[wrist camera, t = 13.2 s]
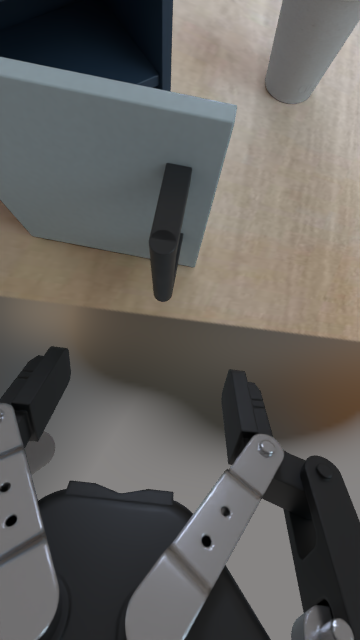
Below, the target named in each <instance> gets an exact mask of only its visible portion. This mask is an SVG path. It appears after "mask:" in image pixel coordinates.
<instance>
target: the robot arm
mask: <svg viewBox="0 0 360 640" xmlns="http://www.w3.org/2000/svg"><path fill="white" fill-rule="evenodd" d="M70 375H71V369H70V359H69V351H68V349H67V348H60V347H53V346H51V347H50V348H49V349H48V351H47V352H46V354H45V355H44V356H40V355H38V356H36V357H35V358H34V359H32V360H30V361H29V362H28V363H27V365H26V366H25V367H24V369H23V370H22V371H21V373H20V374H19V375H18V377H17V378H16V379H15V380H14V382H13V383H12V384H11V386H10V387H9V388H8V389H7V391H6V392H5V393H4V395H3V396H2V397H1V399H0V640H271V639H270V638H269V636H268V635H267V633H266V631H265V630H264V628H263V626H262V625H261V623H260V621H259V620H258V618H257V616H256V615H255V613H254V611H253V610H252V608H251V606H250V605H249V603H248V602H247V600H246V598H245V597H244V595H243V593H242V592H241V590H240V589H239V587H238V585H237V583H236V582H235V580H234V578H233V577H232V575H231V573H230V572H229V570H228V569H227V567H226V565H225V564H226V563H227V561H228V559H229V557H230V555H231V553H232V552H233V550H234V548H235V546H236V544H237V542H238V541H239V539H240V537H241V535H242V534H243V532H244V530H245V528H246V526H247V524H248V523H249V521H250V519H251V517H252V515H253V514H254V512H255V510H256V508H257V506H258V504H259V503H260V501H261V499H262V498H263V499H264V500H266V501H269V502H271V503H273V504H275V505H277V506H279V507H281V508H283V509H284V514H285V519H286V524H287V529H288V534H289V540H290V544H291V550H292V555H293V560H294V565H295V571H296V576H297V581H298V586H299V591H300V596H301V601H302V606H303V612H304V614H302V615H301V616H300V617H299V618H298V619H296V621H295V622H294V625H293V627H292V634H291V638H292V639H291V640H360V522H359V519H358V517H357V514H356V511H355V509H354V506H353V504H352V501H351V499H350V496H349V494H348V491H347V488H346V486H345V483H344V481H343V478H342V476H341V473H340V472H339V470H338V469H337V468H336V466H335V465H333V463H331V462H330V461H328V460H327V459H325V458H323V457H320V456H310V457H309V458H307V460H303V459H301V458H298V457H296V456H294V455H291V454H289V453H287V452H286V451H284V450H283V448H282V446H281V445H280V443H279V442H278V441H277V440H276V439H274V438H273V435H272V431H271V428H270V424H269V420H268V417H267V413H266V410H265V406H264V403H263V399H262V395H261V391H260V390H259V389H258V387H257V386H256V385H255V383H252V382H247V377H246V373H245V371H239V370H231V369H230V370H229V371H228V374H227V378H226V381H225V384H224V388H223V392H222V410H223V420H224V429H225V438H226V447H227V456H228V464H231V465H232V466H231V467H230V469H229V470H228V469H227V470H226V471H225V472H224V473H223V474H222V475H221V477H220V478H219V480H218V481H217V482H216V484H215V485H214V486H213V488H212V489H211V491H210V492H209V493H208V495H207V496H206V498H205V499H204V500H203V502H202V503H201V504H200V506H199V507H198V509H197V510H196V511H195V513H194V514H193V513H192V512H191V511H190V510H188V509H187V508H186V507H185V506H183V505H182V504H180V503H178V502H176V501H174V500H173V492H169V491H160V490H151V489H146V490H140V491H134V492H128V493H117V492H115V491H113V490H110V489H108V488H105V487H103V486H100V485H98V484H96V483H87V482H78V481H69V484H68V487H67V489H64V490H60V491H57V492H54V493H52V494H49V495H47V496H45V497H44V498H42V499H40V500H39V501H38V499H37V495H36V491H35V488H34V484H33V480H32V476H31V472H30V468H29V464H28V460H27V456H26V453H25V449H24V448H25V447H26V445H27V443H28V441H37V442H38V441H39V439H40V437H41V435H42V433H43V431H44V429H45V427H46V425H47V423H48V421H49V419H50V418H51V416H52V414H53V412H54V410H55V408H56V406H57V404H58V402H59V400H60V399H61V397H62V395H63V393H64V391H65V389H66V387H67V385H68V383H69V380H70Z"/></svg>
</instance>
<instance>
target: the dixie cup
mask: <svg viewBox="0 0 360 640" xmlns="http://www.w3.org/2000/svg"><path fill="white" fill-rule="evenodd" d="M359 20H360V0H283V1H282V6H281V10H280V15H279V19H278V24H277V28H276V33H275V37H274V42H273V46H272V51H271V55H270V60H269V64H268V69H267V73H266V78H265V85H266V88H267V90H268V92H269V93H270V94H271V95H272V96H273V97H274V98H276V99H277V100H279V101H281V102H284V103H289V104H296V103H301V102H303V101H305V100H306V99H308V98H309V96H310V95H311V93H312V92H313V90H314V89H315V87H316V86H317V84H318V83H319V81H320V80H321V78H322V77H323V75H324V74H325V72H326V71H327V69H328V67H329V66H330V64H331V63H332V61H333V60H334V58H335V57H336V55H337V54H338V52H339V51H340V49H341V48H342V46H343V45H344V43H345V41H346V40H347V38H348V37H349V35H350V34H351V32H352V31H353V29H354V28H355V26H356V25H357V23H358V22H359Z"/></svg>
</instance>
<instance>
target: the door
mask: <svg viewBox="0 0 360 640" xmlns="http://www.w3.org/2000/svg"><path fill="white" fill-rule="evenodd" d="M236 110H237V106H236V105H234V104H229V103H224V102H219V101H214V100H209V99H204V98H199V97H194V96H190V95H185V94H180V93H175V92H170V91H165V90H160V89H155V88H150V87H146V86H141V85H136V84H131V83H126V82H121V81H116V80H111V79H106V78H102V77H97V76H92V75H87V74H82V73H77V72H72V71H67V70H62V69H57V68H53V67H48V66H43V65H38V64H33V63H28V62H23V61H18V60H13V59H9V58H4V57H0V200H1V201H2V202H3V203H4V205H5V206H6V207H7V208H8V209H9V210H10V211H11V212H12V214H13V215H14V216H15V217H16V218H17V219H18V220H19V222H20V223H21V224H22V225H23V226H24V227H25V228H26V229H27V231H28V232H29V233H30V234H31V235H32V236H35V237H40V238H45V239H50V240H55V241H61V242H66V243H71V244H76V245H81V246H87V247H92V248H97V249H102V250H107V251H113V252H118V253H123V254H128V255H133V256H138V257H144V258H149V259H150V261H151V271H152V281H153V291H154V296H155V298H156V299H157V300H158V301H161V302H165V301H167V300H169V299H170V298H171V296H172V292H173V287H174V282H175V277H176V271H177V266H178V264H180V265H185V266H190V267H195V264H196V261H197V257H198V253H199V250H200V246H201V242H202V239H203V235H204V231H205V228H206V224H207V221H208V217H209V213H210V210H211V206H212V202H213V199H214V195H215V192H216V188H217V184H218V181H219V177H220V173H221V170H222V166H223V162H224V159H225V155H226V152H227V148H228V144H229V141H230V137H231V133H232V130H233V126H234V122H235V116H236Z"/></svg>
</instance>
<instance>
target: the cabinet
mask: <svg viewBox="0 0 360 640" xmlns="http://www.w3.org/2000/svg"><path fill="white" fill-rule="evenodd" d="M172 16H173V0H0V57H4V58H9V59H13V60H18V61H23V62H28V63H33V64H38V65H43V66H48V67H53V68H57V69H62V70H67V71H72V72H77V73H82V74H87V75H92V76H97V77H102V78H106V79H111V80H116V81H121V82H126V83H131V84H136V85H141V86H146V87H150V88H155V89H160V90H165V91H170V90H171V53H172Z"/></svg>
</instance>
